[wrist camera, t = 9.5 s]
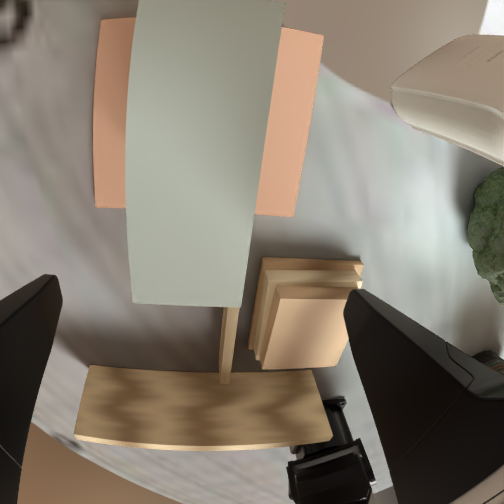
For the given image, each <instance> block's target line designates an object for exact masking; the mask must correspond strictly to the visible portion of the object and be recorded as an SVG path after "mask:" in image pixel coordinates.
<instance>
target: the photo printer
mask: <svg viewBox="0 0 504 504" xmlns="http://www.w3.org/2000/svg"><path fill="white" fill-rule="evenodd" d="M391 89H392V91H391V101H392V105H393V107H394V110H395V112H396V113H397V115H398V116H399V117H400V118H401V119H402V120H403V121H405V122H407V123H409V124H411V126H412V128H414V129H416V130H418V131H420V132H423V133H426V134H428V135H431V136H434V137H437V138H440V139H442V140H445V141H447V142H450V143H452V144H455V145H457V146H460V147H462V148H465V149H467V150H469V151H472V152H474V153H476V154H478V155H480V156H483V157H485V158H487V159H489V160H491V161H493V162H496V163H498V164H500V165H502V166H504V36H500V35H467V36H463V37H460V38H457V39H455V40H454V41H451V42H450V43H448V44H446V45H445V46H443V47H441V48H439V49H438V50H436V51H435V52H433V53H432V54H430V55H429V56H427V57H426V58H424V59H423V60H421V61H420V62H418V63H417V64H416V65H414V66H413V67H412V68H410V69H409V70H407V71H406V72H405V73H404V74H402V75H401V76H400V77H399V78H398V79H397V80H396V81H395V82H394V83H393V84H392V85H391Z"/></svg>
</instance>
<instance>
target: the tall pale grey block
mask: <svg viewBox="0 0 504 504" xmlns="http://www.w3.org/2000/svg"><path fill="white" fill-rule="evenodd" d="M284 9H285V3H283V2H278V1H272V0H139V2H138V8H137V14H136V21H135V28H134V35H133V43H132V52H131V61H130V71H129V83H128V97H127V114H126V141H125V197H126V224H127V242H128V257H129V269H130V280H131V290H132V299H133V303H141V304H159V305H180V306H206V307H241V305H242V298H243V291H244V284H245V277H246V270H247V263H248V256H249V249H250V242H251V235H252V228H253V221H254V214H255V207H256V200H257V193H258V186H259V179H260V172H261V166H262V159H263V152H264V145H265V138H266V131H267V124H268V117H269V111H270V104H271V97H272V90H273V83H274V76H275V70H276V63H277V56H278V49H279V43H280V36H281V29H282V22H283V15H284Z"/></svg>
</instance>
